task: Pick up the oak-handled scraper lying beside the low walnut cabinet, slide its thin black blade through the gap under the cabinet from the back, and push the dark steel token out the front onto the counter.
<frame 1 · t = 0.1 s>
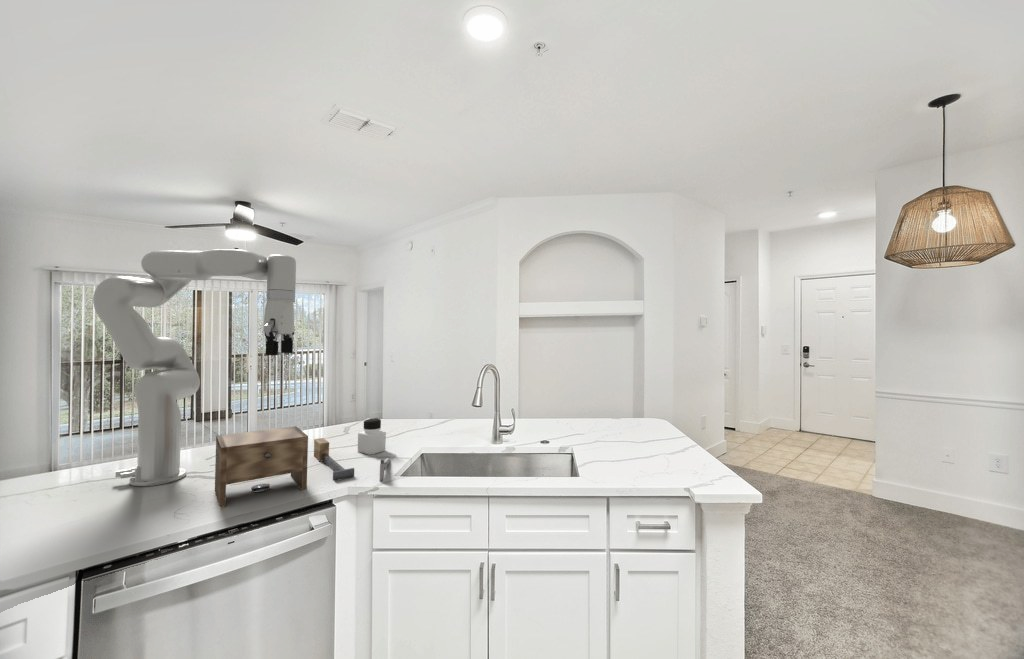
hand: (279, 354, 124), 37 cm above the worktop, tool pointing down, fingers open, 9 cm apart
steel token: (260, 490, 116), on the worktop
medicine bottle: (371, 451, 153), on the worktop
caliper: (385, 471, 133), on the worktop
scraper: (321, 458, 144), on the worktop
walnut cabinet: (261, 489, 115), on the worktop
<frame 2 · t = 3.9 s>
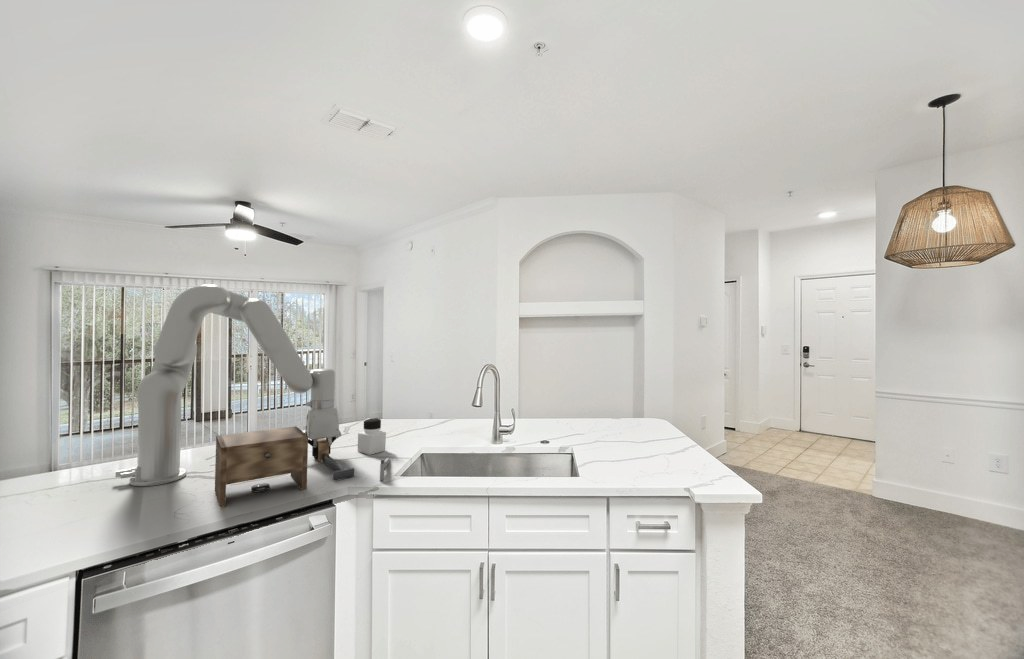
hand: (321, 456, 144), 0 cm above the worktop, tool pointing down, fingers closed on scraper, 2 cm apart
scraper: (321, 457, 144), on the worktop, touching gripper
everything else where it was.
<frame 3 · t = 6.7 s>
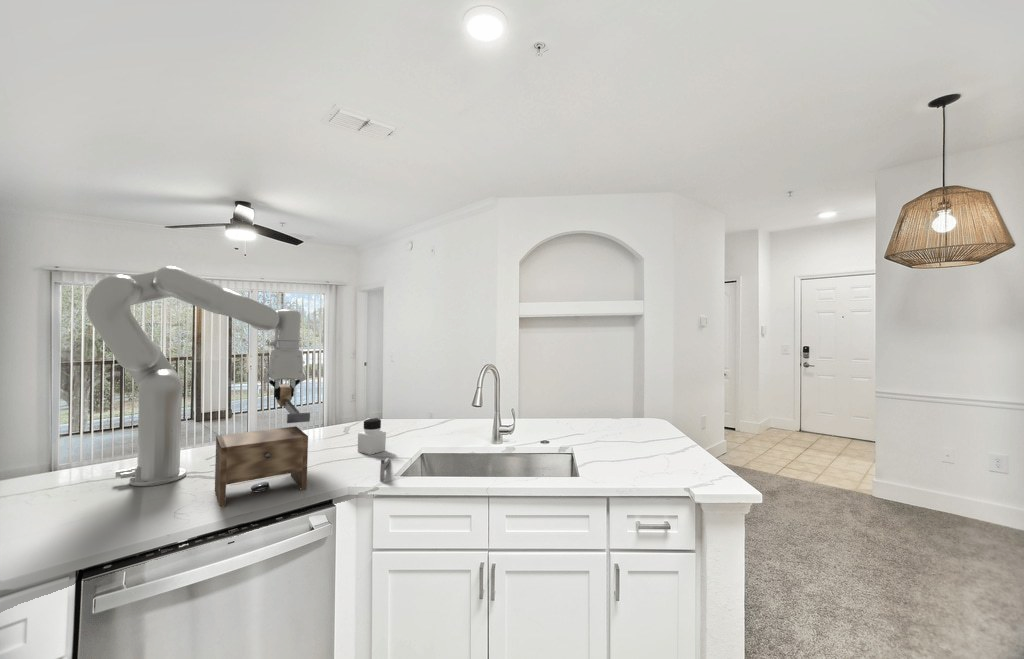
hand: (283, 398, 142), 21 cm above the worktop, tool pointing down, fingers closed on scraper, 3 cm apart
scraper: (283, 403, 142), point 19 cm above the worktop, touching gripper
everything else where it was.
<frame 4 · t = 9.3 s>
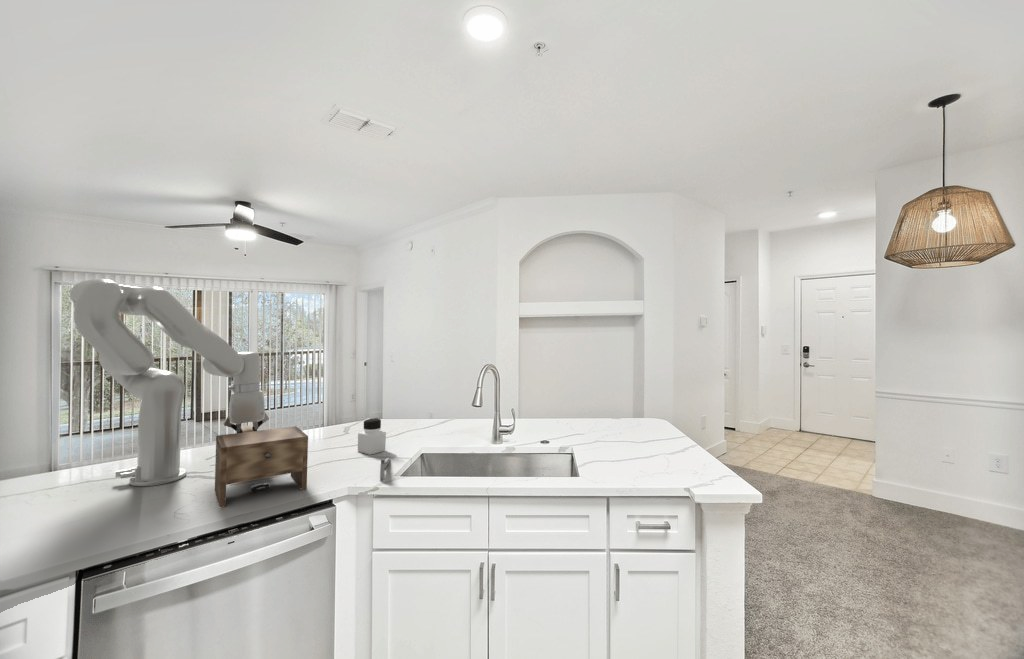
hand: (247, 441, 141), 6 cm above the worktop, tool pointing down, fingers closed on scraper, 3 cm apart
scraper: (246, 445, 142), point 4 cm above the worktop, touching gripper
everything else where it was.
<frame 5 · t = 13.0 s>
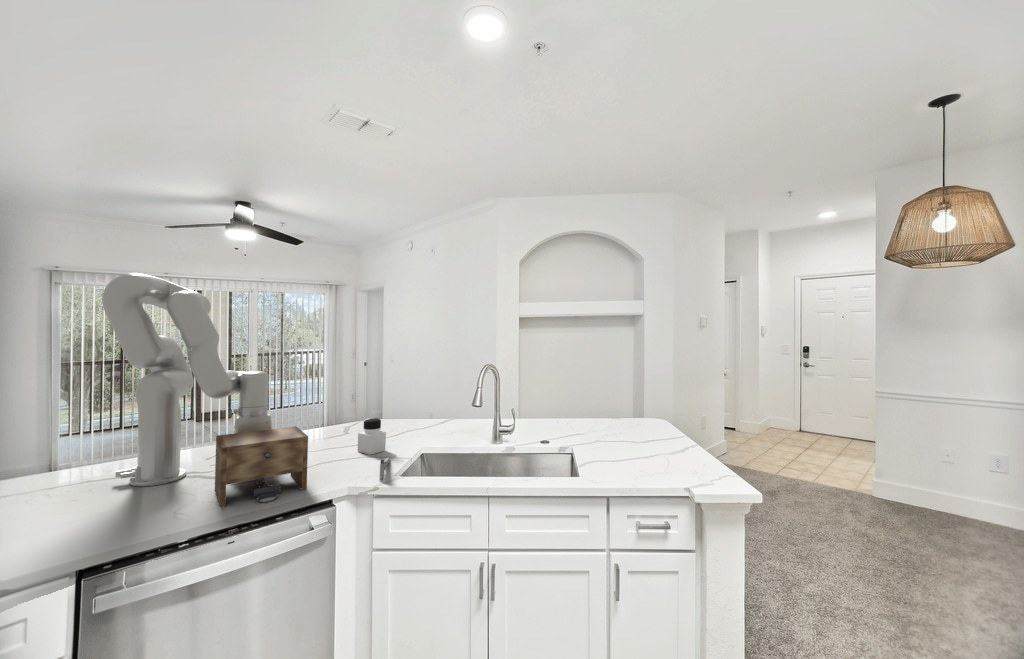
hand: (252, 469, 128), 1 cm above the worktop, tool pointing down, fingers closed on scraper, 2 cm apart
steel token: (267, 500, 109), on the worktop
scraper: (252, 471, 129), on the worktop, touching gripper
everything else where it was.
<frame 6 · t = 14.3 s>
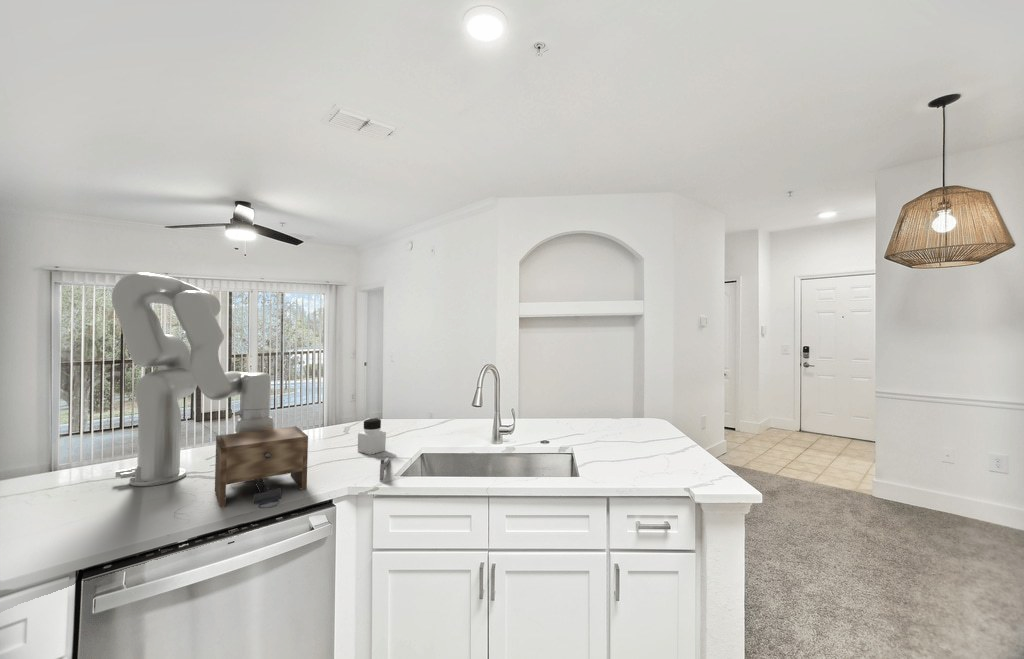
hand: (253, 473, 125), 1 cm above the worktop, tool pointing down, fingers closed on scraper, 3 cm apart
steel token: (268, 505, 106), on the worktop
scraper: (252, 474, 126), on the worktop, touching gripper
everything else where it was.
when the fingers open (1 cm above the worktop, at t = 15.1 s): scraper stays where it is, on the worktop.
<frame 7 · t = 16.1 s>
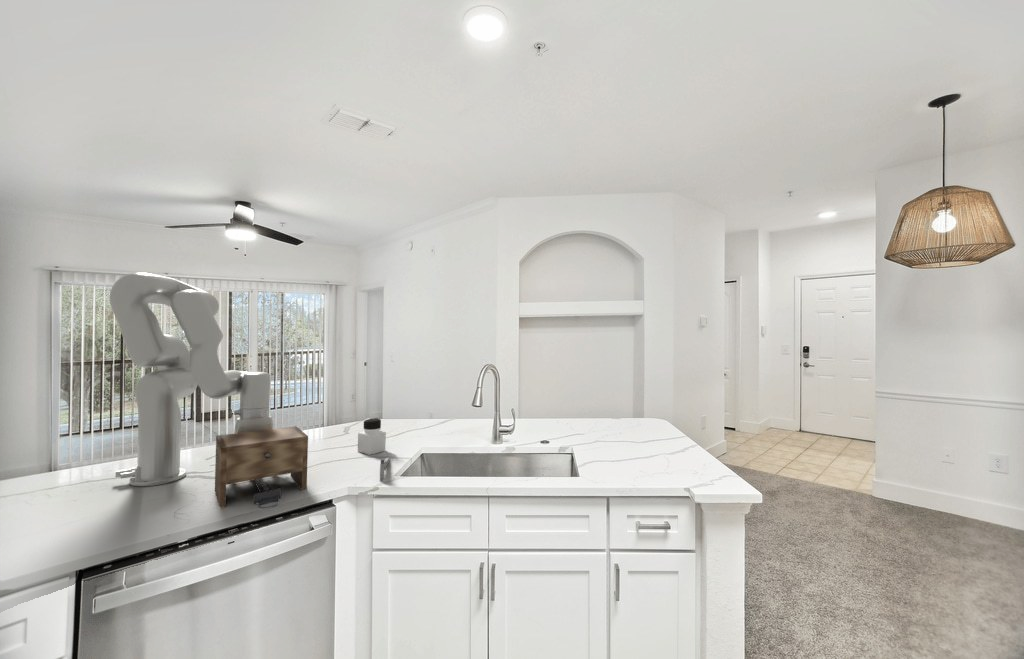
hand: (252, 469, 125), 2 cm above the worktop, tool pointing down, fingers open, 9 cm apart
scraper: (252, 474, 126), on the worktop
everything else where it was.
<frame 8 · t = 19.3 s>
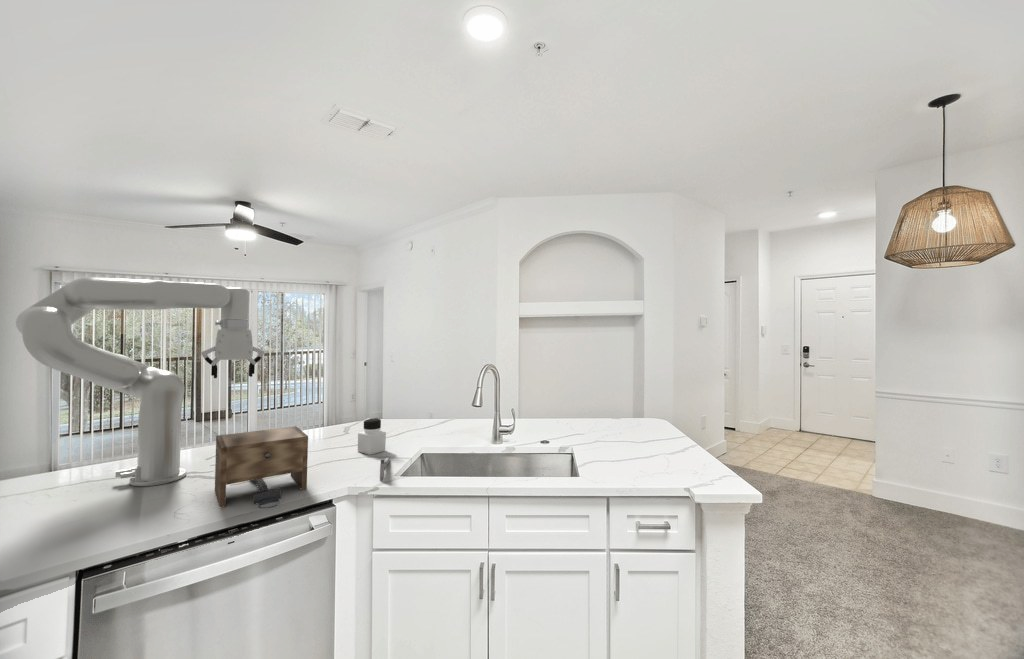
hand: (233, 377, 136), 28 cm above the worktop, tool pointing down, fingers open, 9 cm apart
nothing on the worktop moved.
at the end: steel token inside the target area (4.7 cm from its centre), on the worktop; steel token moved 12.8 cm from its start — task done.
